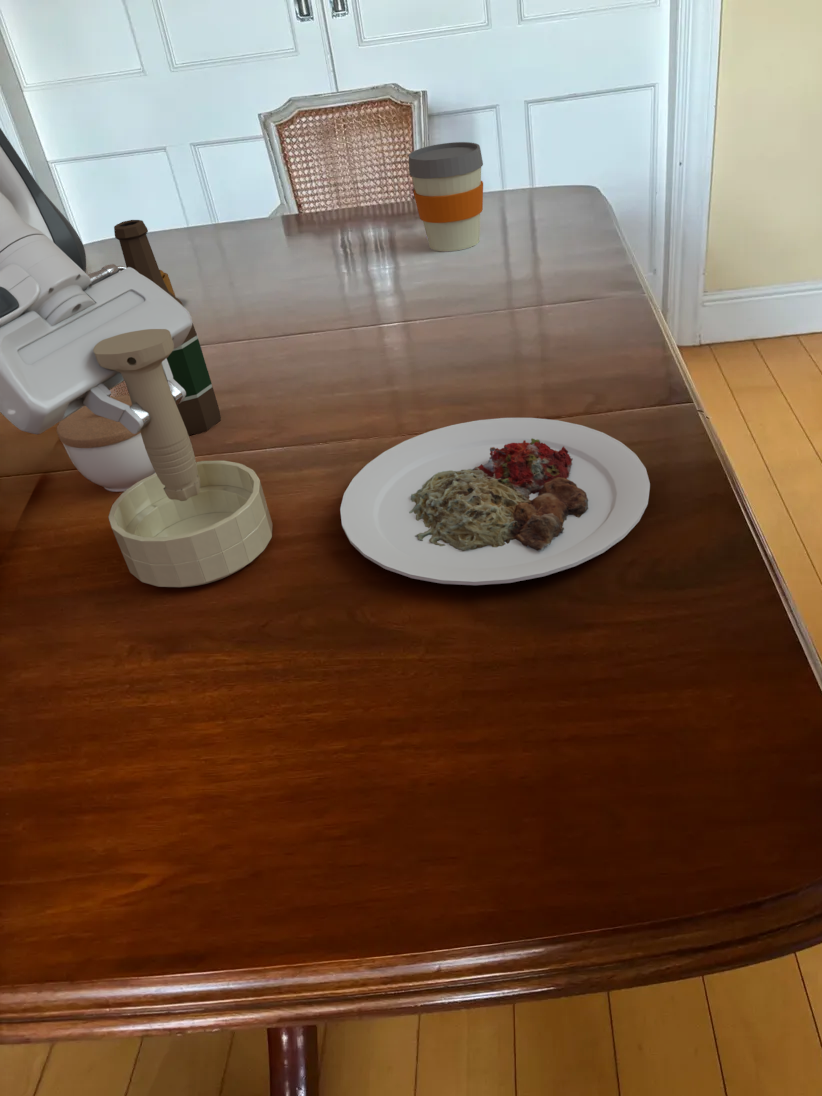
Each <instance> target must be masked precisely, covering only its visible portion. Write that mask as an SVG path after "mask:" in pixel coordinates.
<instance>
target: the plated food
mask: <svg viewBox="0 0 822 1096" xmlns="http://www.w3.org/2000/svg"><path fill="white" fill-rule="evenodd" d="M650 490H651V483H650V479H649V475H648V472H647V468H646V466H645V464H644V463H643V462H642V461H641V459H640V458H639V457H638V455H637V454H636V453H635V452H634V451H632V449H630V448H629V447H628V446H627V445H625V444H624V443H623V442H622V441H620V440H618V439H616V438H614V437H613V436H611V435H608V434H607V433H605V432H603V431H599V430H597V429H594V428H592V427H589V426H585V425H582V424H579V423H578V424H577V423H572V422H568V421H563V420H558V419H550V418H540V417H538V418H537V417H500V418H499V417H497V418H487V419H477V420H472V421H467V422H461V423H455V424H451V425H448V426H443V427H441V428H437V429H436V428H435V429H433V430H430V431H426V432H424V433H421V434H419V435H417V436H414V437H411V438H409V439H405V440H404V441H401V442H400V443H398V444H396V445H394V446H392V447H391V448H389V449H387V450H385V451H383V452H382V453H380V454H379V455H378V456H376V457H375V458H374V459H372V460H371V461H370V462H368V463H367V464H365V466H363V468H361V470H359V471H358V473H357V474H355V476H354V477H353V478H352V480H351V481H350V483H349V485H348V486H347V488H346V490H345V491H344V493H343V496H342V499H341V504H340V507H339V511H340V519H341V521H340V522H341V528H342V530H343V531H344V533H345V535H346V537H347V539H348V541H349V544H351V545H352V546H353V547H354V548H355V550H357V551H358V552H359V553H360V554H361V555H362V556H363V557H364V558H366V559H367V560H369V561H371V562H372V563H374V564H376V565H377V566H379V567H381V568H383V569H385V570H387V571H390V572H393V573H396V574H399V575H402V576H404V577H408V578H410V579H414V580H420V581H425V582H431V583H435V584H436V583H437V584H441V585H459V586H461V585H462V586H485V585H501V584H511V583H516V582H520V581H526V580H527V581H528V580H532V579H537V578H542V577H546V576H550V575H552V574H556V573H558V572H563V571H565V570H568V569H571V568H574V567H578V566H579V565H582V564H583V563H585V562H587V561H589V560H592V559H594V558H596V557H598V556H599V555H601V554H604V553H605V552H606V551H608V550H609V549H610V548H612V547H613V546H615V545H616V544H617V543H619V542H621V541H622V540H623V539H624V538H625V537H626V536H628V534H629V533H630V532H631V531H632V530H633V529H634V528H635V526H636V525H638V524H639V522H640V521H641V519H642V517H643V515H644V514H645V511H646V509H647V507H648V506H649V499H650Z"/></svg>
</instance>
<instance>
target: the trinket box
mask: <svg viewBox="0 0 822 1096" xmlns="http://www.w3.org/2000/svg"><path fill="white" fill-rule="evenodd" d="M110 397H111V398H113V399H115V400H118V401H120V402H122V403H124V404H127V405H129V406H132V402H131V399H130V396H129V394H125V395H123V394H121V395H115V396H110ZM56 433H57V436H58V438H59V441H60V442H61V443H62V444H63V447H64V449H65V452H66V454H67V455H68V458H69V459H70V461H71V462H72V464H73V466H74V467H75V469H76V470H77V471H78V472H79V473H80V474H81V475H82V476H83V477H84V478H85V479H86V480H88V481H90V482H91V483H93V484H94V485H98V486H100V487H103V488H104V490H106V491H109V492H113V493H119V492H122V493H123V492H124V491H126V490H127V489H129V488H130V487H132V486H133V485H134V484H136V483H137V482H139V481H140V480H142V479H145V478H147V477H149V476H151V475H153V474H155V473H156V472H155V470H154V468H153V466H152V464H151V462H150V459H149V457H148V454H147V451H146V449H145V446H144V443H143V440H142V436H141V433H140V431H139V432H138V433H137V434H133V433H131V432H130V431H129V430H128V429H127V428H126V427H125V426H124V425H122V424H121V423H120V422H116V421H113V420H110V419H107V418H104V417H101V416H98V415H95V414H94V413H93V412H92V411H91V410H90V409H89V408H87V407H86V406H84V407H82V408H81V409H79V410H77V411H76V412H74V413H73V414H71V415H69V416H68V417H66V418H65V419H63V420H62V421H60V422H58V423H57V427H56Z"/></svg>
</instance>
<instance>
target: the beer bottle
mask: <svg viewBox="0 0 822 1096" xmlns="http://www.w3.org/2000/svg"><path fill="white" fill-rule="evenodd" d="M113 232H114V238H115V239H116V240H118V242H119V244H120V249H121V253H122V255H123V260H124V262H125V267H127V268H128V267H131V268H133V269H135V270H136V271H137V272H138V273H139V274H141V275H143V276H145V277H147V278H148V279H150V280H151V281H152V282H154V283H155V284H156V285H158V286H159V287H160V288H162V289H163V290H164V291H166V292H167V293H168V294H169V295H171V296H172V297H173V298H174V299H175V300H177V301H178V302H179V303H180V304H181V305H182V306H183V307H185V306H184V304H182V303H183V302H182V300H181V299H179V298H178V297H177V296H176V295H175V296H176V297H175V296H174V295H173V294H172V293H171V292H169V290H168V288H167V286H166V284H165V282H164V280H163V278H162V276H161V273H160V270H161V269H160V268H159V264H158V262H157V260H156V257H155V254H154V252H153V249H152V246H151V243H150V241H149V238H148V235H147V234H148V232H149V229H148V227H147V225H146V224H145V223H144V221H143V220H142V219H128V220H124V221H121V222H120V223H117V224H116V225H113ZM177 298H178V299H177ZM181 302H182V303H181ZM167 361H168V364H169V366H170V369H171V372H172V375H173V379H174V380H175V381H176V382H177V383H178V384H179V385H180V386H181V387H182V388H183V389H184V390H185V391H186V396H185V398H184V399H183V401H182V402H181V403H180V404H178V405H177V408H178V410H179V413H180V415H181V418H182V420H183V422H184V425H185V427H186V430H187V433H188V435H189V436H192V434H193V435H196V434H200V433H205V432H207V431H209V430H210V429H211V428H213V427H214V426H215V425H217V424H218V423H219V422H221V419H222V416H221V412H220V409H219V403H218V400H217V397H216V393H215V391H214V386H213V384H212V380H211V377H210V373H209V370H208V366H207V364H206V360H205V357H204V353H203V350H202V347H201V344H200V340H199V337H198V334H197V331H196V328H195V326H194V323H193V322H192V327H191V329H190V331H189V333H188V335H187V337H186V339H185V341H184V342H183V343H182V345H180V346H179V347H177V348H175V349H174V350H173V351H172V353H171V354H170V355H169V356H168V357H167Z"/></svg>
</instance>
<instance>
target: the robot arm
mask: <svg viewBox="0 0 822 1096" xmlns="http://www.w3.org/2000/svg"><path fill="white" fill-rule="evenodd" d="M183 306H184V305H183ZM183 306H182V305H181V304H180V303H179V302H178V301H177V300H175V299H174V298H173V297H172V296H171V295H169V294H168V293H167V292H166V291H164V290H163V289H162V288H160V287H159V286H158V285H156V284H155V283H154V282H152V281H151V280H150V279H148V278H147V277H145V276H143V275H141V274H139V273H138V272H137V271H136V270H135V269H133V268H131V267H128V268H127V267H126V266H123V265H116V264H114V263H110V264H106V265H105V266H103V267H102V268H100V269H99V270H97V271H93V272H91V273H88V274H87V254H86V250H85V246H84V244H83V241H82V239H81V237H80V235H79V234H78V233H77V231H76V229H75V227H73V225H72V224H71V222H70V221H69V220H68V219H67V218H66V216H65V215H64V214H63V213H62V212H61V211H60V209H58V207H57V206H56V205H55V204H54V203H53V202H52V200H51V199H50V197H48V195H47V194H46V193H45V191H44V190H43V189H42V188H41V186H40V185H39V184H38V181H36V179H35V178H34V176H33V175H32V173H31V172H30V170H29V169H28V167H27V165H26V164H25V162H24V161H23V160H22V158H21V157H20V156H19V154H18V152H17V151H16V150H15V148H14V146H13V145H12V143H11V142H10V140H9V139H8V137H7V136H6V134H5V132H4V130H2V128H1V127H0V414H1V415H2V416H3V417H5V419H7V420H8V422H10V423H11V424H12V425H13V426H15V427H16V428H17V429H18V430H20V431H22V432H25V433H29V434H33V435H41V434H43V433H44V432H46V431H48V430H49V429H50V428H52V427H53V426H56V425H58V424H59V422H60V421H62V420H63V419H65V418H66V417H68V416H69V415H71V414H73V413H74V412H76V411H77V410H79V409H81V408H82V407H84V406H86V407H87V408H89V409H90V410H91V411H92V412H93V413H94V414H95V415H98V416H101V417H104V418H107V419H110V420H113V421H116V422H120V423H121V424H122V425H124V426H125V427H126V428H127V429H128V430H129V431H130V432H131V433H133V434H137V433H138V432H139V431H141V430H142V429H144V428H145V427H146V426H147V425H148V423H149V421H150V420H151V417H150V415H149V414H148V413H147V412H146V411H143V408H142V407H141V406H140V405H139V404H138V403H137V402H136V403H135V404H133V405H132V406H129V405H127V404H124V403H122V402H120V401H118V400H115V399H113V398H111V397H112V396H111V395H112V389H115V388H116V387H117V386H119V385H120V384H122V383H124V382H125V381H124V379H123V377H122V375H121V373H120V372H118V371H115V370H110V369H106V368H103V367H101V366H100V365H99V364H98V362H97V359H96V356H95V354H94V351H93V349H94V347H95V345H96V344H97V343H99V342H100V341H102V340H104V339H107V338H110V337H113V336H116V335H120V334H123V333H128V332H133V331H139V330H146V329H167V330H169V331H170V334H171V337H172V340H173V344H174V349H175V348H177V347H179V346H180V345H182V343H183V342H184V341H185V339H186V337H187V335H188V333H189V331H190V329H191V327H192V323H193V320H192V315H191V313H190V312H189V310H188V309H187V308H186V307H185V306H184V307H183ZM174 349H173V350H174ZM162 367H163V371H164V375H165V377H166V380H167V382H168V385H169V388H170V390H171V393H172V395H173V398H174V401H175V403H176V405H178V404H180V403H181V402H182V401H183V399H184V398H185V396H186V391H185V390H184V389H183V388H182V387H181V386H180V385H179V384H178V383H177V382H176V381H175V380H174V379H173V375H172V372H171V369H170V366H169V364H168V361H167V358H166V359H165V360H164V361H163V362H162Z"/></svg>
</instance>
